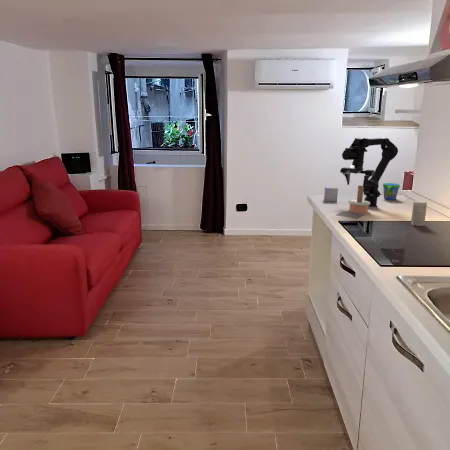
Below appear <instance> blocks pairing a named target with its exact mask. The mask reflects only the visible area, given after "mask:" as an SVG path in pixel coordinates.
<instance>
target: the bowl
mask: <svg viewBox="0 0 450 450" xmlns="http://www.w3.org/2000/svg"><path fill="white" fill-rule="evenodd" d="M348 208H349V209H348V210H349V211H348V212H352V213H358V214H365V213H368V212H369V205H366V206H360V205H353V204H349V207H348Z"/></svg>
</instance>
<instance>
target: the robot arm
mask: <svg viewBox="0 0 450 450" xmlns="http://www.w3.org/2000/svg"><path fill="white" fill-rule="evenodd" d="M371 146H380V149H381V150H382V152H381V159H380V160H379V162H378V164H377V166H376V168H375V170H374V169H365V170H364V168H363V167H364V162H365V152H366V153H367V152H368V150H367V148H368V147H371ZM398 153H399V149H398V147H397V145H395V143H393V142H392V141H391V140H390V139H389V138H388V137H379V138H378V137H376V138H365V137H355V138H354V140H353V141H352V143H351V144H350V146H349V147H345V149H344V150H343V152H342V153H341V158H342V159H343V160H344V161H352V162H351V163H352V164H350V166H349V167H344V166H343V167H341V168H340V171H339V172H340V173H341V174H342V175H343V176H344V177H345V181H346V183H347V186H349V185H350V182H351V181H350V180H351V174H354V175H356V174H363V184H362V186H364V189H363V196H365V197H364V199H363V201H368V202H370V205H369V206H368V208H369V207H378V205H377V204H378V198H379V197H380V196H381V192H380V191H379V186H380V185H379V184H380V183H379V182H380V180H381V178H382V176H383V174H384V172H385V171H386V169H387V167H388V165H389V163H390V162H391V161H392V160H393V159H395V157H397V156H398Z"/></svg>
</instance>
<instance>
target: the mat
mask: <svg viewBox="0 0 450 450" xmlns="http://www.w3.org/2000/svg"><path fill="white" fill-rule="evenodd" d="M335 216H339V217H344V218H349V219H357V220H358V219H361V218H362V217H364V216H366V214H365V213H356V212H351V211H345V210H342V211H341V212H339V213H336V214H335Z"/></svg>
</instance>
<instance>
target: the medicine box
mask: <svg viewBox="0 0 450 450" xmlns="http://www.w3.org/2000/svg"><path fill="white" fill-rule="evenodd" d="M323 191H324V194H323V201H324V202H338V195H339V188H338V187H335V186H326V187H324V190H323Z"/></svg>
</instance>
